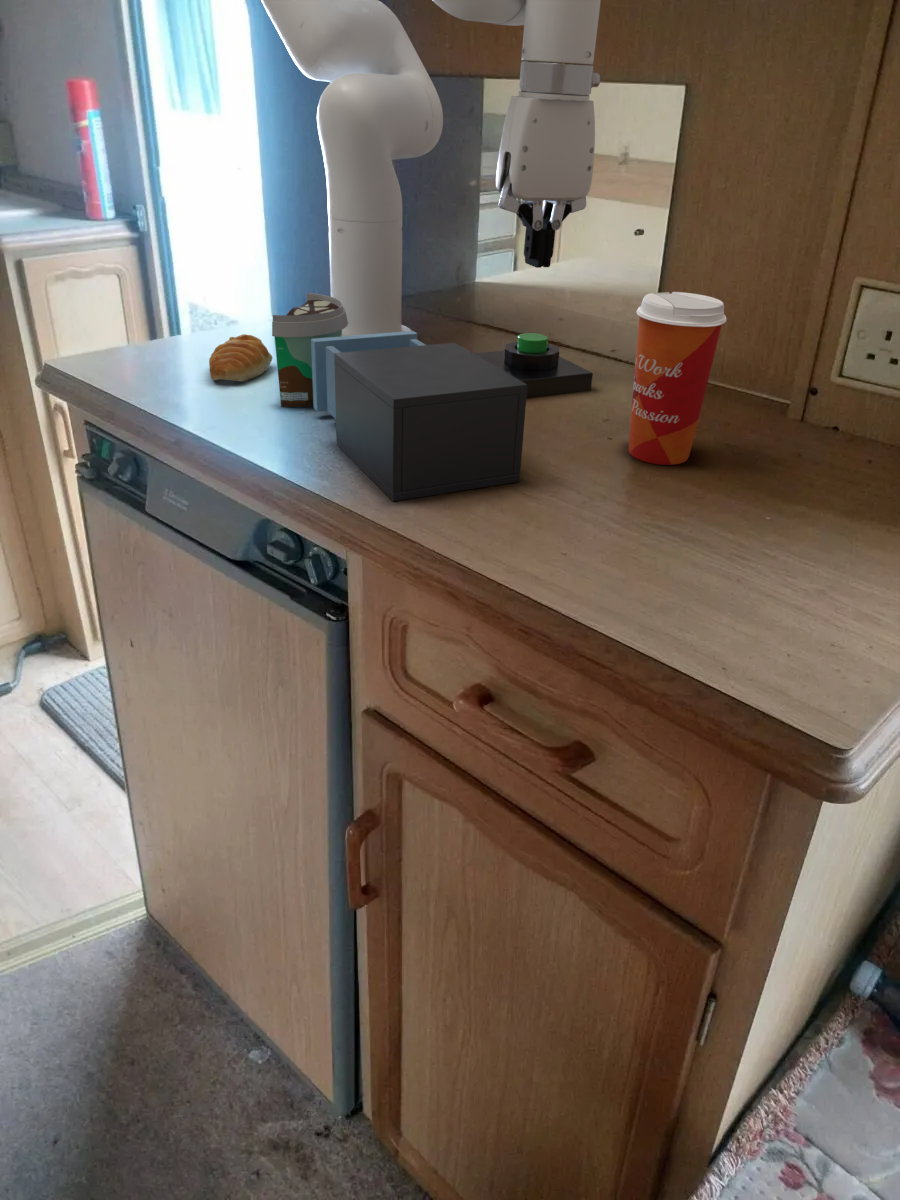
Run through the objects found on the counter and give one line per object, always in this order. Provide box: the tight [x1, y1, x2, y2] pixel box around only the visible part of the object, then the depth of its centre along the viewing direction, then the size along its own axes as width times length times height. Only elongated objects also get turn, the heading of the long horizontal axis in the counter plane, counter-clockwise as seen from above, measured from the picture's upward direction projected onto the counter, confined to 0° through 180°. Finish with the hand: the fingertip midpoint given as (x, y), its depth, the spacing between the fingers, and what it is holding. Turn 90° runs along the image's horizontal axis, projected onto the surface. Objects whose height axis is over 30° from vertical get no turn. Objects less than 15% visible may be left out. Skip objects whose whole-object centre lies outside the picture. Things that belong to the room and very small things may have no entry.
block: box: [472, 341, 594, 399], centre depth 110 cm, size 12×10×4 cm
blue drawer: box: [311, 330, 426, 420], centre depth 94 cm, size 19×11×7 cm, turn 26°
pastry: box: [208, 333, 273, 383], centre depth 108 cm, size 9×7×4 cm
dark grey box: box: [334, 342, 528, 502], centre depth 85 cm, size 15×13×9 cm
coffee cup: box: [628, 291, 728, 466], centre depth 87 cm, size 8×8×15 cm
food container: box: [271, 292, 348, 408], centre depth 101 cm, size 12×6×10 cm, turn 170°
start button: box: [516, 332, 549, 353], centre depth 109 cm, size 4×4×2 cm
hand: (537, 264), depth 105 cm, fingers closed
